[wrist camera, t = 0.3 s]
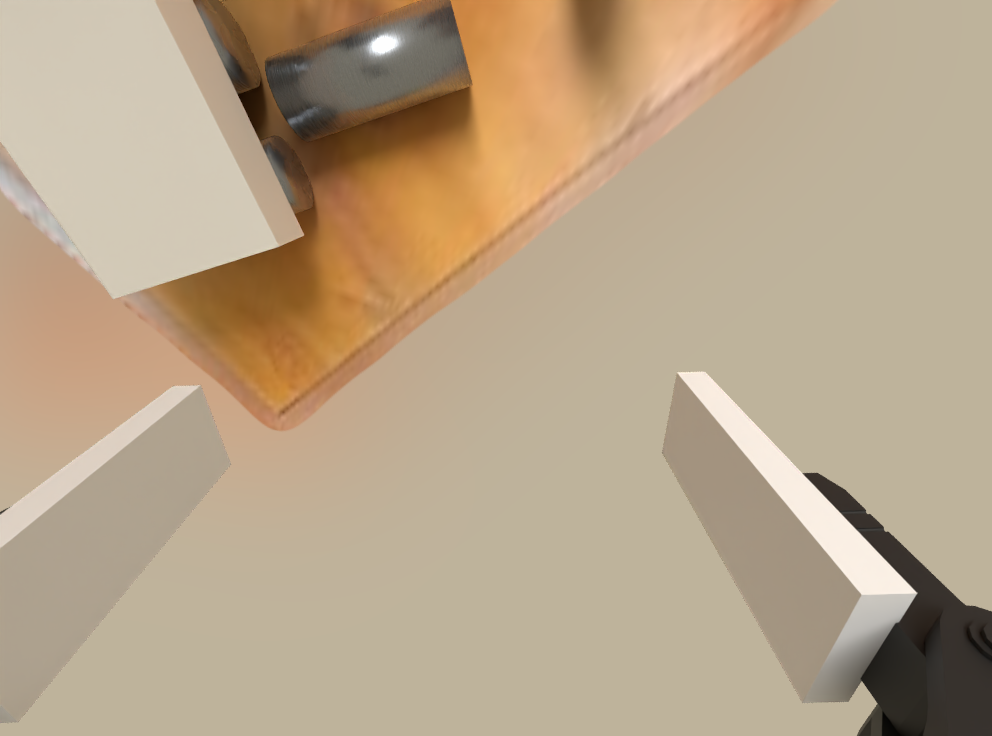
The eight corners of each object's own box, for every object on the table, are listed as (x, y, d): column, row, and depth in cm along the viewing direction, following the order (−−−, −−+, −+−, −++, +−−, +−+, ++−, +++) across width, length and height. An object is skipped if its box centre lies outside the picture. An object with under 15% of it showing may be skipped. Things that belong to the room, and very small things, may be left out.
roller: (288, 65, 30) (252, 49, 26) (451, 4, 29) (443, -24, 24) (320, 142, 32) (293, 140, 28) (474, 90, 31) (470, 78, 26)
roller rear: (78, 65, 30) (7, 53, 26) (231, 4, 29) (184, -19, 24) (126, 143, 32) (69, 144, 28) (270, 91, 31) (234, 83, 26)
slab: (-17, 19, 25) (-103, -3, 21) (165, -58, 23) (106, -96, 20) (155, 282, 32) (112, 299, 28) (304, 235, 30) (279, 246, 27)
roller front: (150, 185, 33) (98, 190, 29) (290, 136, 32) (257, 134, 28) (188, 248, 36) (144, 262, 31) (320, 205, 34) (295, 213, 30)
